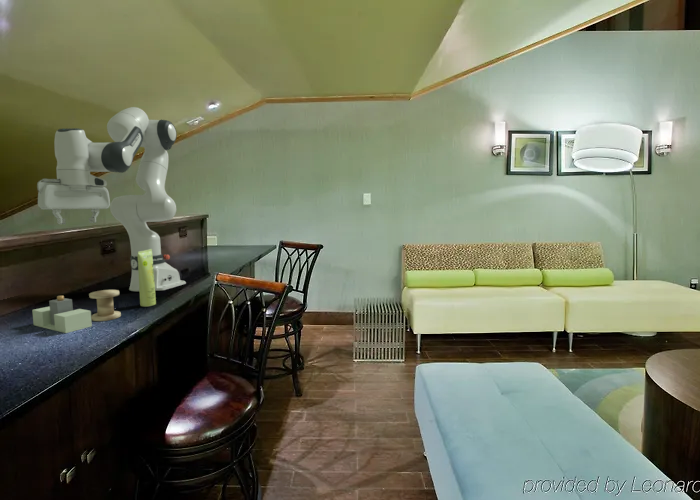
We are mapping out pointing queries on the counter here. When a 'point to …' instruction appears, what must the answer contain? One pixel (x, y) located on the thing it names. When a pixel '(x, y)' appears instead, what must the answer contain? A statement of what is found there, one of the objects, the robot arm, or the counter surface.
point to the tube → (146, 278)
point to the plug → (59, 306)
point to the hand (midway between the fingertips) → (77, 223)
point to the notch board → (62, 319)
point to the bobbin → (105, 305)
